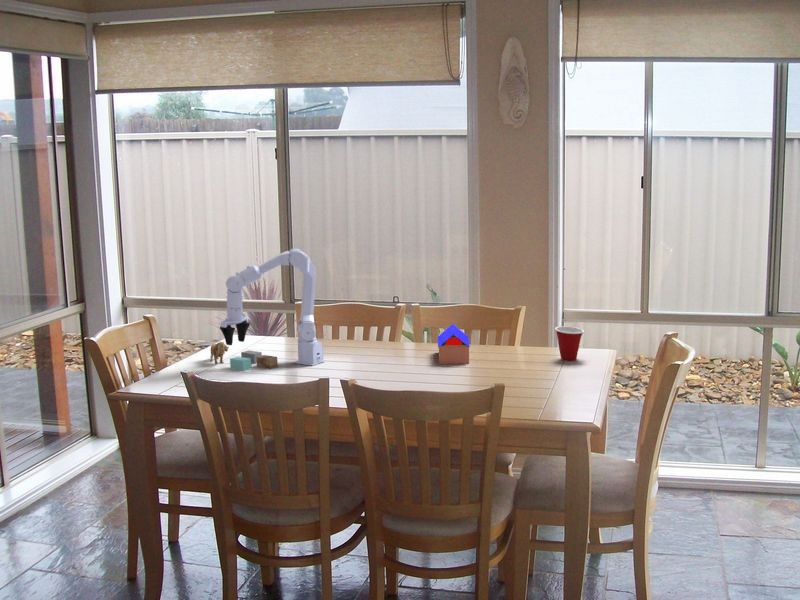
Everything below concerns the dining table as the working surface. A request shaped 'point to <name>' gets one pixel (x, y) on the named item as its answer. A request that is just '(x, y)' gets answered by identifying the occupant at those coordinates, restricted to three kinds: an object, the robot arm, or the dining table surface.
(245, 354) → the gray brick
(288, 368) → the dining table surface
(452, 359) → the house
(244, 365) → the teal brick
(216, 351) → the lion figurine
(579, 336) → the plastic cup
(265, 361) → the walnut brick
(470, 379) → the dining table surface
